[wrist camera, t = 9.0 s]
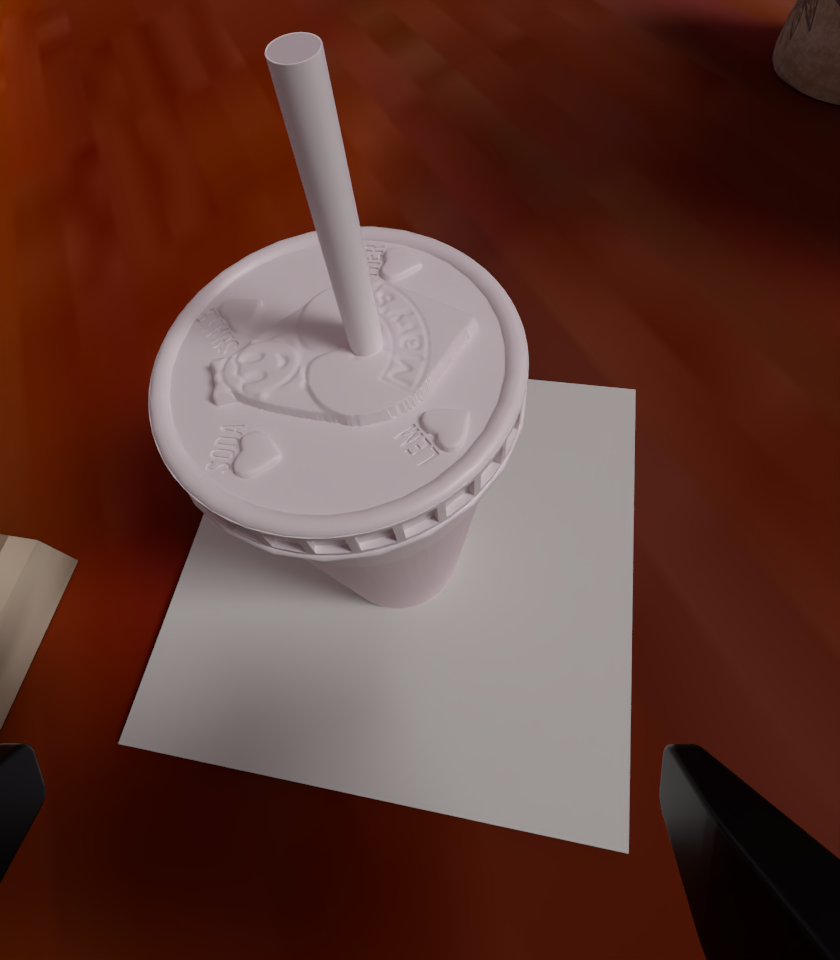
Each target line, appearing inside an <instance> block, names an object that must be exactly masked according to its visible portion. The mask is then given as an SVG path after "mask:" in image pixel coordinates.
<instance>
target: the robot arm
mask: <svg viewBox="0 0 840 960" xmlns="http://www.w3.org/2000/svg"><path fill="white" fill-rule="evenodd" d="M44 797H45V784H44V781H43V778H42V775H41V771H40V768H39V765H38V762H37V759H36V756H35V753H34V750H33V748H32V747H31V746H30V745H28V744H25V743H3V744H0V883H1V881H2V879H3V877H4V875H5V873H6V872H7V870H8V868H9V866H10V864H11V862H12V860H13V858H14V857H15V855H16V853H17V851H18V849H19V847H20V845H21V844H22V842H23V840H24V838H25V836H26V834H27V832H28V831H29V829H30V827H31V825H32V823H33V821H34V819H35V817H36V816H37V814H38V812H39V810H40V808H41V806H42V804H43V801H44ZM660 802H661V808H662V812H663V816H664V819H665V823H666V826H667V830H668V833H669V837H670V840H671V844H672V847H673V851H674V854H675V858H676V861H677V865H678V868H679V872H680V875H681V879H682V882H683V886H684V889H685V893H686V896H687V900H688V903H689V907H690V910H691V914H692V917H693V920H694V924H695V927H696V930H697V933H698V937H699V940H700V943H701V946H702V949H703V951H704V954H705V957H706V960H840V859H839V858H838V857H836V856H835V855H834V854H833V853H831V852H830V851H829V850H828V849H826V848H825V847H824V846H823V845H822V844H820V843H819V842H818V841H817V840H815V839H814V838H813V837H812V836H810V835H809V834H808V833H807V832H806V831H804V830H803V829H802V828H801V827H799V826H798V825H797V824H796V823H794V822H793V821H792V820H791V819H790V818H788V817H787V816H786V815H785V814H783V813H782V812H781V811H780V810H778V809H777V808H776V807H775V806H774V805H772V804H771V803H770V802H769V801H767V800H766V799H765V798H764V797H762V796H761V795H760V794H759V793H758V792H756V791H755V790H754V789H753V788H751V787H750V786H749V785H748V784H746V783H745V782H744V781H743V780H742V779H740V778H739V777H738V776H737V775H735V774H734V773H733V772H732V771H730V770H729V769H728V768H727V767H726V766H724V765H723V764H722V763H721V762H719V761H718V760H717V759H716V758H714V757H713V756H712V755H711V754H710V753H708V752H707V751H706V750H705V749H703V748H702V747H700V746H698V745H695V744H669V745H667V746H666V748H665V750H664V754H663V763H662V774H661V784H660Z"/></svg>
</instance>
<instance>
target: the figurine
mask: <svg viewBox="0 0 840 960" xmlns="http://www.w3.org/2000/svg"><path fill="white" fill-rule="evenodd" d="M772 60H773V66H774V70H775V72H776V73H777V74H778V76H779V77H780V78H781V79H782V80H783V81H785V82H786V83H787V84H788V85H790V86H791V87H793V88H794V89H796V90H797V91H799V92H801V93H803V94H805V95H807V96H810V97H812V98H815V99H817V100H821V101H825V102H828V103H832V104H836V105H840V0H798V1H797V2H796V4H795V6H794V7H793V9H792V11H791V12H790V14H789V16H788V18H787V20H786V22H785V24H784V26H783V28H782V30H781V32H780V34H779V36H778V39H777V41H776V44H775V48H774V51H773V58H772Z"/></svg>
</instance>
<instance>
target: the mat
mask: <svg viewBox="0 0 840 960" xmlns="http://www.w3.org/2000/svg"><path fill="white" fill-rule="evenodd" d="M527 384H528V389H527V399H526V408H525V418H524V427H523V429H522V432H521V434H520V436H519V439H518V441H517V443H516V445H515V448H514V450H513V452H512V455H511V457H510V459H509V462H508V464H507V466H506V468H505V470H504V471H503V472H502V473H501V475H500V476H499V477H498V478H497V479H496V481H495V482H494V483H493V484H492V485H491V487H490V488H489V489H488V490H487V491H486V493H485V494H484V495H483V496H482V497H481V498H480V500H479V501H478V504H477V507H476V510H475V513H474V516H473V519H472V521H471V524H470V527H469V530H468V533H467V536H466V538H465V541H464V544H463V547H462V550H461V553H460V556H459V558H458V561H457V564H456V567H455V570H454V572H453V575H452V576H451V578H450V580H449V582H448V583H447V584H446V586H445V587H444V588H443V589H442V590H441V591H440V592H439V593H438V594H437V595H436V596H434V597H433V598H431V599H430V600H428V601H426V602H424V603H422V604H420V605H417V606H414V607H409V608H401V609H394V608H387V607H382V606H379V605H376V604H374V603H372V602H370V601H368V600H367V599H365V598H363V597H362V596H360V595H359V594H357V593H356V592H354V591H353V590H351V589H349V588H348V587H346V586H345V585H343V584H342V583H340V582H339V581H337V580H336V579H334V578H332V577H331V576H329V575H328V574H326V573H325V572H323V571H322V570H320V569H318V568H317V567H315V566H314V565H312V564H311V563H309V562H308V561H306V560H305V559H298V558H291V557H284V556H277V555H272V554H270V553H268V552H266V551H263V550H261V549H259V548H257V547H254V546H252V545H250V544H248V543H246V542H243V541H241V540H239V539H237V538H234V537H232V536H230V535H228V534H227V533H226V532H225V531H224V530H222V529H221V528H220V527H219V526H218V525H217V524H216V523H215V522H213V521H212V520H211V519H210V518H209V517H208V516H207V515H206V514H204V515H203V517H202V520H201V523H200V525H199V528H198V531H197V533H196V536H195V539H194V542H193V544H192V547H191V550H190V552H189V555H188V558H187V560H186V563H185V566H184V568H183V571H182V574H181V576H180V579H179V582H178V584H177V587H176V590H175V592H174V595H173V598H172V600H171V603H170V606H169V609H168V611H167V614H166V617H165V619H164V622H163V625H162V627H161V630H160V633H159V635H158V638H157V641H156V643H155V646H154V649H153V651H152V654H151V657H150V659H149V662H148V665H147V668H146V670H145V673H144V676H143V678H142V681H141V684H140V686H139V689H138V692H137V694H136V697H135V700H134V702H133V705H132V708H131V710H130V713H129V716H128V718H127V721H126V724H125V727H124V729H123V732H122V735H121V737H120V740H119V743H118V744H121V745H126V746H131V747H135V748H140V749H145V750H149V751H154V752H158V753H163V754H168V755H172V756H177V757H182V758H186V759H191V760H196V761H200V762H205V763H210V764H214V765H219V766H224V767H228V768H233V769H237V770H242V771H247V772H251V773H256V774H261V775H265V776H270V777H275V778H279V779H284V780H289V781H293V782H298V783H303V784H307V785H312V786H316V787H321V788H326V789H330V790H335V791H340V792H344V793H349V794H354V795H358V796H363V797H368V798H372V799H377V800H381V801H386V802H391V803H395V804H400V805H405V806H409V807H414V808H419V809H423V810H428V811H433V812H437V813H442V814H447V815H451V816H456V817H460V818H465V819H470V820H474V821H479V822H484V823H488V824H493V825H498V826H502V827H507V828H512V829H516V830H521V831H526V832H530V833H535V834H539V835H544V836H549V837H553V838H558V839H563V840H567V841H572V842H577V843H581V844H586V845H591V846H595V847H600V848H605V849H609V850H614V851H618V852H623V853H628V854H629V795H630V728H631V661H632V594H633V526H634V459H635V392H636V390H633V389H623V388H613V387H603V386H592V385H582V384H572V383H561V382H551V381H541V380H530V379H528V380H527Z"/></svg>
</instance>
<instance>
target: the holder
mask: <svg viewBox="0 0 840 960" xmlns="http://www.w3.org/2000/svg"><path fill="white" fill-rule="evenodd" d="M77 562H78V560H76V559H74V558H72V557H70V556H68V555H66V554H64V553H62V552H60V551H58V550H56V549H54V548H52V547H50V546H48V545H46V544H44V543H42V542H40V541H38V540H33V539H27V538H20V537H14V536H8V535H2V534H0V730H1V727H2V725H3V723H4V721H5V719H6V717H7V714H8V712H9V710H10V708H11V706H12V704H13V701H14V699H15V697H16V695H17V693H18V691H19V688H20V686H21V684H22V682H23V680H24V677H25V675H26V673H27V671H28V669H29V667H30V664H31V662H32V660H33V658H34V656H35V654H36V651H37V649H38V647H39V645H40V643H41V640H42V638H43V636H44V634H45V632H46V630H47V627H48V625H49V623H50V621H51V619H52V617H53V614H54V612H55V610H56V608H57V606H58V603H59V601H60V599H61V597H62V595H63V593H64V590H65V588H66V586H67V584H68V582H69V580H70V577H71V575H72V573H73V571H74V569H75V566H76V564H77Z"/></svg>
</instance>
